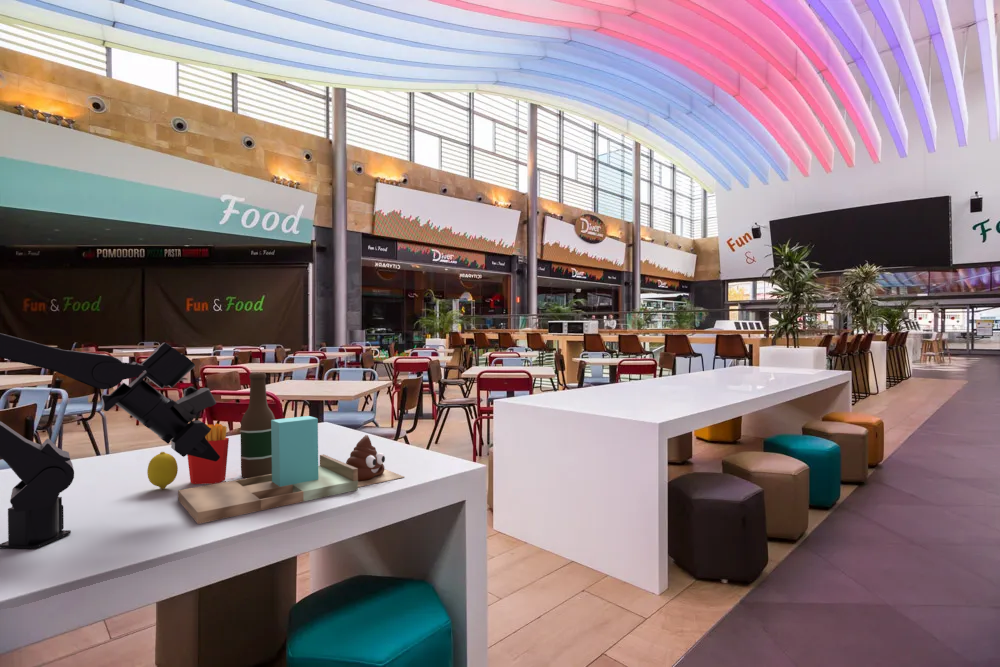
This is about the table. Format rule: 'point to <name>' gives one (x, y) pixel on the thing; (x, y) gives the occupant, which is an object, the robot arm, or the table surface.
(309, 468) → the block
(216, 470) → the french fries
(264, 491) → the board
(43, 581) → the table surface
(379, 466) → the poop emoji
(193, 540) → the table surface
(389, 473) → the coaster
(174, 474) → the lemon
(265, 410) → the beer bottle
